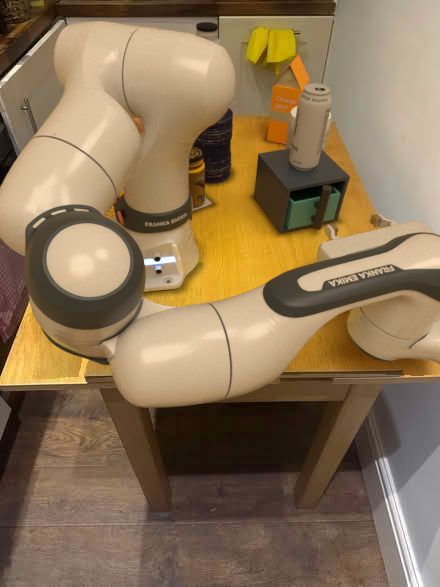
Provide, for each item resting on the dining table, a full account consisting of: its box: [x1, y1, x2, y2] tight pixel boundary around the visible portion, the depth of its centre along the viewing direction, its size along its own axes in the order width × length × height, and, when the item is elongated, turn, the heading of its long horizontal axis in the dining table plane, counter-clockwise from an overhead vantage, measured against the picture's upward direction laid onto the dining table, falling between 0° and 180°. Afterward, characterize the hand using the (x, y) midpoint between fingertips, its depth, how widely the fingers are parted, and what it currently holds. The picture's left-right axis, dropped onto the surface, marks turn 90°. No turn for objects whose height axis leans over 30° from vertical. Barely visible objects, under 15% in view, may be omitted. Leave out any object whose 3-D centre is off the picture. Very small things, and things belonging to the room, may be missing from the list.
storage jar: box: [192, 107, 234, 185], centre depth 96 cm, size 10×10×15 cm
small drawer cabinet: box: [253, 148, 351, 234], centre depth 88 cm, size 14×14×11 cm
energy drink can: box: [289, 82, 333, 171], centre depth 78 cm, size 6×6×15 cm
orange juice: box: [266, 53, 310, 145], centre depth 108 cm, size 8×9×20 cm
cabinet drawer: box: [285, 183, 341, 231], centre depth 86 cm, size 16×11×10 cm
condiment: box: [189, 147, 213, 211], centre depth 88 cm, size 7×8×12 cm
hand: (351, 222), depth 73 cm, fingers open, 8 cm apart
